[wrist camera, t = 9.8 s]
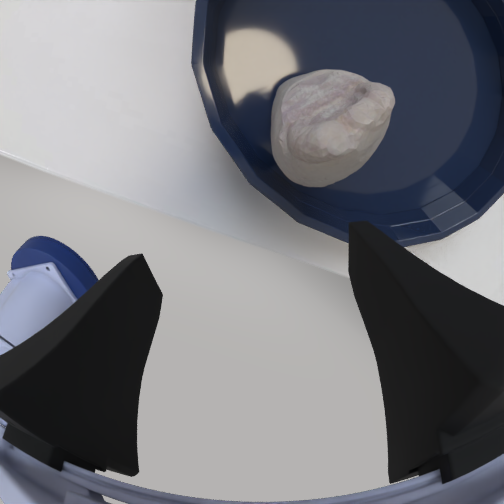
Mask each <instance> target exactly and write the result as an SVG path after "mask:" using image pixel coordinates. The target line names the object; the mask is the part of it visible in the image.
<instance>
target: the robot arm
mask: <svg viewBox="0 0 504 504" xmlns="http://www.w3.org/2000/svg"><path fill="white" fill-rule="evenodd" d="M348 272H349V276H350V280H351V284H352V288H353V292H354V296H355V299H356V302H357V304H358V307H359V310H360V313H361V315H362V318H363V321H364V324H365V327H366V330H367V332H368V335H369V338H370V341H371V344H372V347H373V350H374V354H375V357H376V361H377V366H378V371H379V376H380V382H381V388H382V394H383V401H384V408H385V417H386V428H387V441H388V475H389V482H390V484H391V483H394V482H398V481H401V480H404V479H408V478H411V477H414V476H417V475H419V477H416V478H413V479H410V480H406V481H403V482H400V483H397V484H393V485H389V486H385V487H381V488H377V489H373V490H368V491H364V492H360V493H354V494H349V495H342V496H336V497H329V498H321V499H312V500H301V501H285V502H240V501H239V502H238V501H223V500H211V499H203V498H195V497H188V496H182V495H175V494H170V493H165V492H160V491H155V490H151V489H147V488H142V487H139V486H135V485H131V484H128V483H124V482H121V481H117V480H114V479H111V478H108V477H105V476H102V475H99V474H96V473H95V469H97V470H100V471H103V472H105V471H106V469H107V470H110V471H113V472H117V473H120V474H124V475H128V476H131V477H132V476H135V475H137V474H138V472H139V466H138V453H137V417H138V404H139V395H140V388H141V381H142V376H143V372H144V367H145V364H146V360H147V357H148V354H149V350H150V347H151V344H152V340H153V337H154V334H155V330H156V327H157V323H158V320H159V315H160V310H161V303H162V297H163V294H162V292H161V290H160V288H159V286H158V285H157V282H156V280H155V278H154V277H153V274H152V272H151V270H150V268H149V266H148V264H147V262H146V260H145V258H144V256H143V254H137V255H131V256H128V257H126V258H125V259H123V260H122V261H121V262H119V263H118V264H117V265H116V266H115V267H113V268H112V269H111V270H110V271H109V272H108V273H107V274H105V275H104V276H103V277H102V278H101V279H100V280H99V281H98V282H96V283H95V284H94V285H93V286H92V287H91V288H90V289H89V290H88V291H87V292H86V293H84V294H83V295H82V296H81V297H80V298H79V299H77V298H76V296H75V295H74V293H73V292H72V290H71V289H70V287H69V286H68V284H67V283H66V281H65V280H64V278H63V276H62V275H61V273H60V272H59V270H58V268H57V267H56V265H55V264H54V263H53V262H48V263H43V264H38V265H33V266H28V267H23V268H19V269H14V270H9V271H8V273H7V275H8V277H9V278H10V280H11V281H10V282H9V283H8V285H7V286H6V287H5V289H4V290H3V291H2V292H1V294H0V424H1V425H0V498H1V499H2V501H3V503H4V504H111V503H108V502H106V501H104V499H103V496H102V495H104V496H107V497H110V498H113V499H116V500H118V501H122V502H125V503H128V504H504V306H503V305H501V304H498V303H496V302H494V301H492V300H490V299H487V298H486V297H484V296H482V295H480V294H478V293H476V292H474V291H472V290H470V289H468V288H466V287H464V286H462V285H461V284H459V283H457V282H455V281H454V280H452V279H450V278H449V277H447V276H445V275H444V274H442V273H440V272H439V271H437V270H436V269H434V268H432V267H431V266H429V265H428V264H427V263H425V262H424V261H422V260H421V259H419V258H418V257H416V256H415V255H413V254H412V253H411V252H409V251H408V250H406V249H405V248H404V247H402V246H401V245H399V244H398V243H397V242H395V241H394V240H393V239H391V238H390V237H389V236H387V235H386V234H385V233H383V232H382V231H381V230H379V229H378V228H377V227H375V226H374V225H372V224H371V223H370V222H368V221H366V220H365V221H357V222H350V223H349V268H348ZM2 425H3V426H4V427H3V426H2ZM5 427H6V428H5ZM101 494H102V495H101Z"/></svg>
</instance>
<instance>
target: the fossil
mask: <svg viewBox="0 0 504 504" xmlns="http://www.w3.org/2000/svg"><path fill="white" fill-rule="evenodd" d="M394 105H395V98H394V94H393V92H392V90H391V88H390V87H388V86H385V85H383V84H380V83H375V82H370V81H369V80H367V79H366V78H364V77H362V76H360V75H357V74H355V73H351V72H347V71H343V70H329V69H325V70H317V71H313V72H310V73H308V74H303V75H299V76H296V77H293V78H291V79H289V80H287V81H285V82H284V83H283V84H282V85H280V86H279V88H278V90H277V92H276V96H275V99H274V101H273V106H272V112H271V146H272V153H273V156H274V159H275V161H276V163H277V165H278V166H279V168H280V169H281V170H282V172H283V173H284V174H285V175H286V176H287V177H288V178H289V179H290V180H291V181H293V182H295V183H297V184H300V185H303V186H307V187H325V186H327V185H330V184H333V183H335V182H337V181H340V180H342V179H345V178H346V177H348V176H349V175H350V174H352V173H354V172H356V171H357V170H358V169H360V168H361V167H362V166H363V165H364V164H365V163H366V162H367V161H368V159H369V158H370V157H371V156H372V154H373V153H374V152H375V150H376V149H377V147H378V146H379V144H380V143H381V141H382V139H383V138H384V135H385V133H386V131H387V128H388V126H389V122H390V117H391V111H392V109H393V107H394Z"/></svg>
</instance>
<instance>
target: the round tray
mask: <svg viewBox="0 0 504 504" xmlns="http://www.w3.org/2000/svg"><path fill="white" fill-rule="evenodd" d="M191 64H192V68H193V71H194V75H195V78H196V81H197V84H198V88H199V91H200V94H201V97H202V101H203V104H204V107H205V110H206V114H207V117H208V120H209V123H210V127H211V128H212V131H213V132H214V133H215V135H216V136H217V138H218V139H219V141H220V142H221V143H222V145H223V146H224V148H225V149H226V150H227V152H228V153H229V155H230V156H231V158H232V159H233V160H234V162H235V163H236V165H237V166H238V168H239V169H240V171H241V172H242V173H243V175H244V176H245V178H246V179H247V181H248V182H249V183H250V184H251V185H252V186H253V187H254V188H256V189H257V190H258V191H259V192H261V193H262V194H263V195H265V196H266V197H267V198H268V199H270V200H271V201H272V202H273V203H275V204H276V205H277V206H278V207H280V208H281V209H282V210H283V211H284V212H286V213H287V214H288V215H289V216H291V217H292V218H293V219H294V220H295V221H297V222H298V223H300V224H303V225H305V226H308V227H310V228H313V229H315V230H318V231H320V232H323V233H325V234H327V235H330V236H332V237H335V238H337V239H339V240H342V241H344V242H346V243H349V223H350V222H357V221H365V220H366V221H368V222H370V223H371V224H372V225H374V226H375V227H377V228H378V229H379V230H381V231H382V232H383V233H385V234H386V235H387V236H389V237H390V238H391V239H393V240H394V241H395V242H397V243H398V244H399V245H401V246H402V247H407V246H412V245H417V244H422V243H427V242H432V241H436V240H441V239H443V238H445V237H447V236H449V235H451V234H452V233H454V232H456V231H458V230H460V229H462V228H463V227H465V226H467V225H469V224H471V223H472V222H474V221H476V220H478V219H479V218H480V217H481V216H482V215H483V214H484V213H485V212H486V211H487V210H488V209H489V208H490V207H491V206H492V205H493V204H494V203H495V202H496V201H497V200H498V199H499V198H500V197H501V196H502V195H503V193H504V0H196V5H195V16H194V29H193V43H192V61H191ZM325 69H329V70H343V71H347V72H351V73H355V74H357V75H360V76H362V77H364V78H366V79H367V80H369V81H370V82H375V83H380V84H383V85H385V86H388V87H390V88H391V90H392V92H393V94H394V98H395V105H394V107H393V109H392V111H391V117H390V122H389V126H388V128H387V131H386V133H385V135H384V138H383V139H382V141H381V143H380V144H379V146H378V147H377V149H376V150H375V152H374V153H373V154H372V156H371V157H370V158H369V159H368V161H367V162H366V163H365V164H364V165H363V166H362V167H361V168H360V169H358V170H357V171H356V172H354V173H352V174H350V175H349V176H348V177H346V178H345V179H342V180H340V181H337V182H335V183H333V184H330V185H327V186H325V187H307V186H303V185H300V184H297V183H295V182H293V181H291V180H290V179H289V178H288V177H287V176H286V175H285V174H284V173H283V172H282V170H281V169H280V168H279V166H278V165H277V163H276V161H275V159H274V156H273V153H272V146H271V112H272V106H273V101H274V99H275V96H276V92H277V90H278V88H279V86H280V85H282V84H283V83H284V82H285V81H287V80H289V79H291V78H293V77H296V76H299V75H303V74H308V73H310V72H313V71H317V70H325Z"/></svg>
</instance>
